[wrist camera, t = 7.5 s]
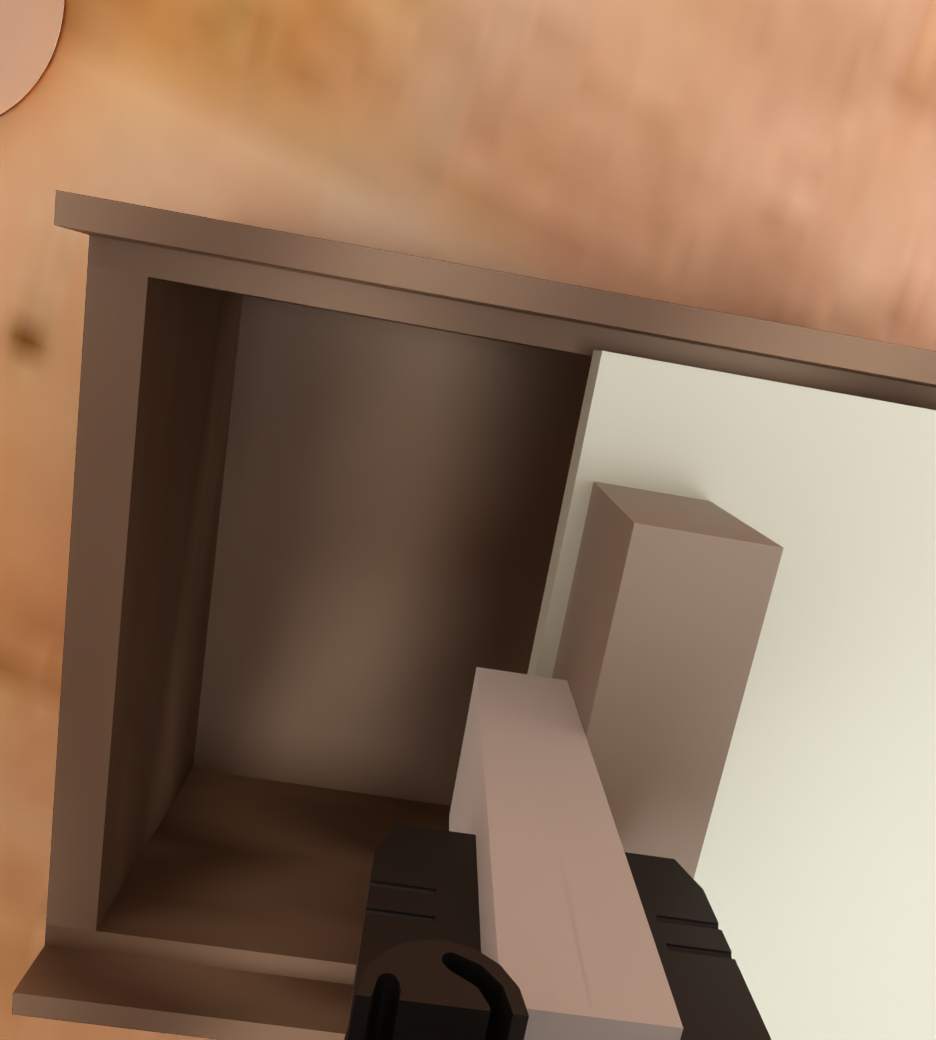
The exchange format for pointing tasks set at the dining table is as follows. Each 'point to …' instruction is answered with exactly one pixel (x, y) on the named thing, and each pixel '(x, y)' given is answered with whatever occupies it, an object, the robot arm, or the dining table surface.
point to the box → (308, 585)
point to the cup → (26, 45)
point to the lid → (764, 672)
